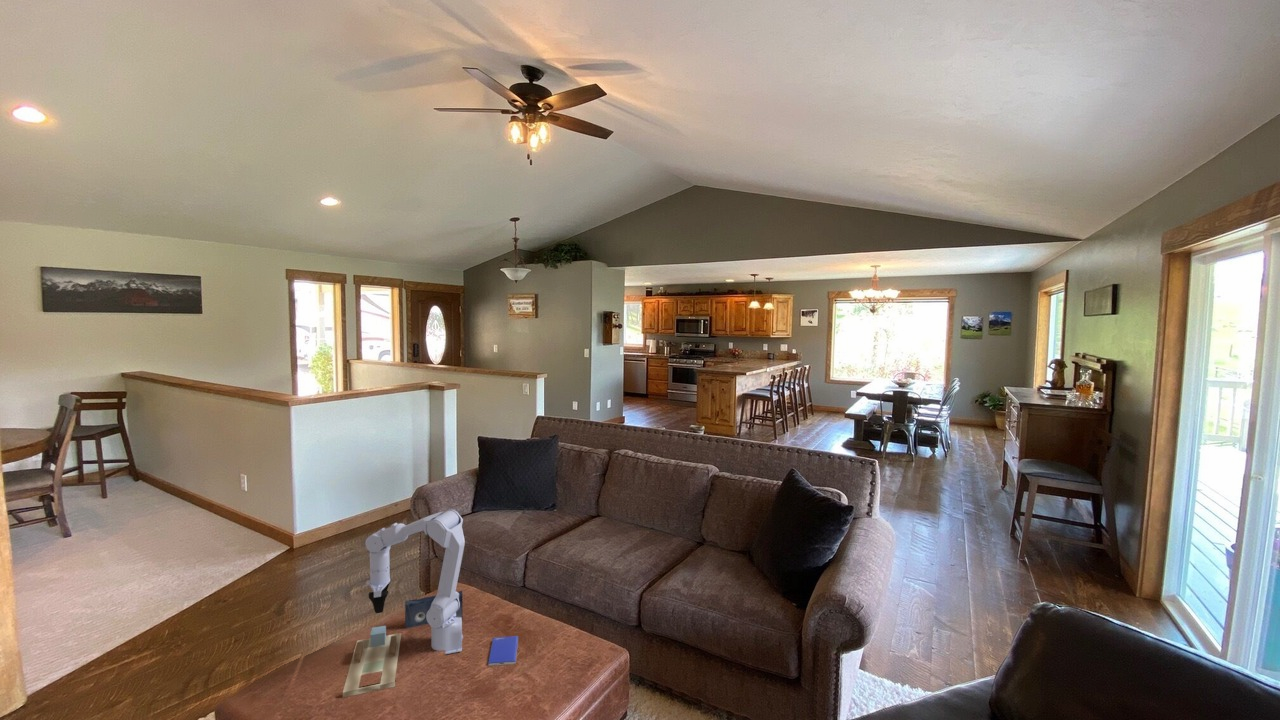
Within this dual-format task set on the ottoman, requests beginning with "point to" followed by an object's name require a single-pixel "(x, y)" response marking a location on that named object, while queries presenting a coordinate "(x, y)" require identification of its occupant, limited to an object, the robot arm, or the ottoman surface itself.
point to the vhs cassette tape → (423, 610)
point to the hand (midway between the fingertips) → (380, 607)
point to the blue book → (503, 651)
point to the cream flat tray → (373, 665)
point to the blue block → (378, 636)
